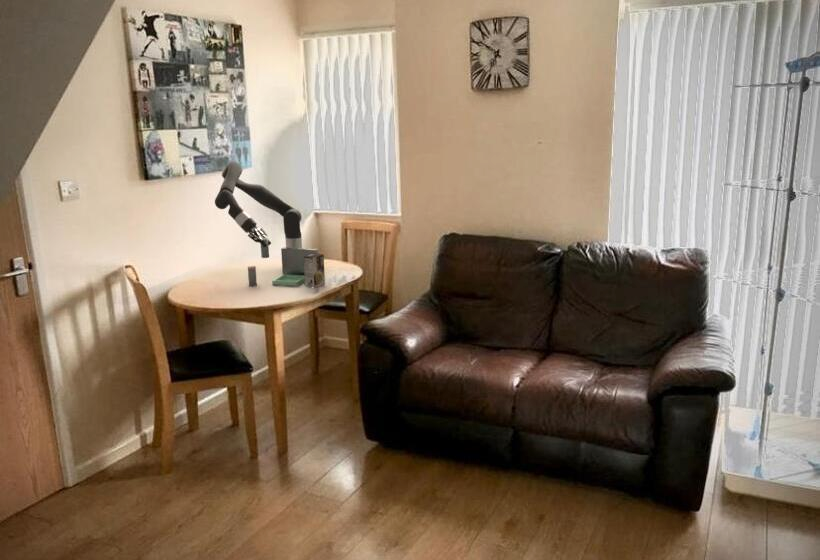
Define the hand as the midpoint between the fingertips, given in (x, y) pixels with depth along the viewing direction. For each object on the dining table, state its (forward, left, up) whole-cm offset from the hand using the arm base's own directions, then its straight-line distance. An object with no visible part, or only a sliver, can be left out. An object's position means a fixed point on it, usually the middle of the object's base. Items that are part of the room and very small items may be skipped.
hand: (267, 245), depth 354 cm
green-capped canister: (0, -2, -7) cm, 7 cm away
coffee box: (+4, +27, -20) cm, 34 cm away
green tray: (+2, +12, -19) cm, 23 cm away
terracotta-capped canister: (+11, -5, -19) cm, 23 cm away
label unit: (-10, +13, -19) cm, 26 cm away
